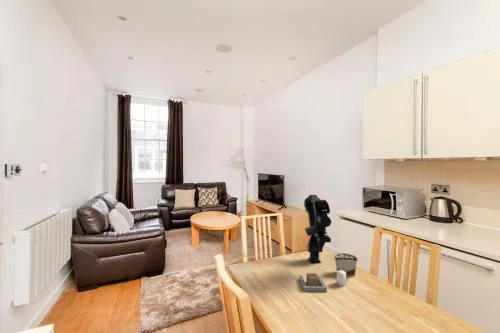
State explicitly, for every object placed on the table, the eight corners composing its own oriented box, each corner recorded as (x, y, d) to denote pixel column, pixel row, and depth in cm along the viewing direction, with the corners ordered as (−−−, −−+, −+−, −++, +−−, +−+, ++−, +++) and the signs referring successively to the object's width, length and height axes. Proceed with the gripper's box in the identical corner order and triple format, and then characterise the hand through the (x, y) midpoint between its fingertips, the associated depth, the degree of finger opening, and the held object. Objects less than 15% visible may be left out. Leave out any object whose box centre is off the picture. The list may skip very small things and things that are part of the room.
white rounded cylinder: (335, 281, 118) (335, 270, 118) (344, 281, 118) (344, 270, 118) (338, 286, 114) (338, 274, 113) (347, 286, 113) (347, 274, 113)
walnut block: (306, 282, 117) (306, 272, 117) (316, 282, 117) (316, 272, 117) (308, 287, 112) (308, 277, 112) (318, 287, 112) (318, 277, 112)
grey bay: (299, 279, 120) (299, 275, 120) (320, 279, 120) (320, 276, 120) (303, 291, 109) (303, 287, 109) (326, 291, 109) (326, 288, 109)
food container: (353, 270, 130) (353, 253, 130) (357, 275, 124) (357, 257, 124) (331, 269, 131) (331, 252, 131) (334, 274, 125) (334, 256, 125)
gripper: (303, 218, 138) (303, 243, 138) (309, 226, 120) (309, 256, 120) (321, 218, 138) (321, 243, 138) (331, 226, 119) (331, 256, 119)
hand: (320, 249), depth 129 cm, fingers closed
